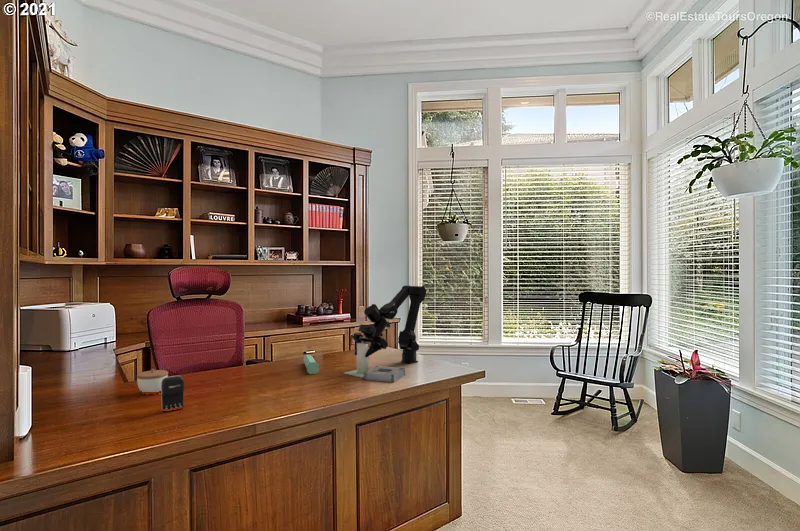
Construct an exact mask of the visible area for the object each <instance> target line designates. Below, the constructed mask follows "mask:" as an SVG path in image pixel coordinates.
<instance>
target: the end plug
mask: <svg viewBox="0 0 800 531" xmlns="http://www.w3.org/2000/svg"><path fill="white" fill-rule="evenodd" d="M356 344H357V355H356V368H357V369H356V370H357V373H360V374H364V372H366V371H368V370H370V368H369V367H370V366H369V357H370V356H368V357H365V355H366V353H367V351H368V349H369V343H368V342H366V343H356Z"/></svg>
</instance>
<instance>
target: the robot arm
mask: <svg viewBox="0 0 800 531" xmlns="http://www.w3.org/2000/svg"><path fill="white" fill-rule="evenodd" d="M426 296H427V289H426V288H425V286H424V285H419V286H418V285H412V286H411V285H403V286H402V287H401V289H400V290H399V291H398V292H397V293H396V295H395V296H394V297H393V298H392V299H391V300H390V301H389V302H388V303H385V304H384V305H382V306H380V308H379V307H378V306H377V305H376V304H375V303H372V304H371V305H370V306H368V307H366V308H365V309H364V311H363V314H364V315H365V316H366V318H367V319H368V320H369V321H370V322H371V323H373V324H368V325H367V324H359V327H358V330H357V331H358V332H361V333H353V335H352V337H351V338H352V339H353V341H355V343H356V344H355V346H356V347H355V350H354V355H355V356H357V343H368V344H369V346H368V351H367V353H366V355H365V357H368V356H369V357H370V356H371V355H373V354H374V353H376V352H379V351H380V350H383V349H384V350H386V349H387V348H388V344H389V343H388V341H386V339H385V338H384V334H383V332H384V330H385V329H386V328H390V327H391V323H390V321H388V320H393V319H395V317H396V315H397V314H398V309H399V308H400V306H401V305H402V304H403V303H404V302H405V301H406V300H407V299H408V297H409V300H410V303H409V309H408V312H407V317H406V321H405V325H404V329H403V330H401V331H399V334H398V338H397V340H398V341H397V343H398V346H399V350H402V354H401V360H400V362H402V363H406V364H415V363H419V361H418V360H417V352H418V351H419V350H420V345H419V344H418V342H417V341H416V339H417V336H416V333H415V330H416V325H417V320H418V314H419V311H420V307H421V304H422V303H423V301H424V300H425V299H426V298H425V297H426ZM362 333H363V334H362ZM364 336H365V337H364ZM414 362H415V363H414Z"/></svg>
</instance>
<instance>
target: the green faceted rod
mask: <svg viewBox="0 0 800 531" xmlns="http://www.w3.org/2000/svg"><path fill="white" fill-rule="evenodd" d="M303 364H304V366H305V368H306V372H307V373H308V374H309V375H315V374H317V373H319V372H320V364H318V363H317V362H316V360H315V359H314V357H313V356H312V355H311V354H305V355H304V357H303Z"/></svg>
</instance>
